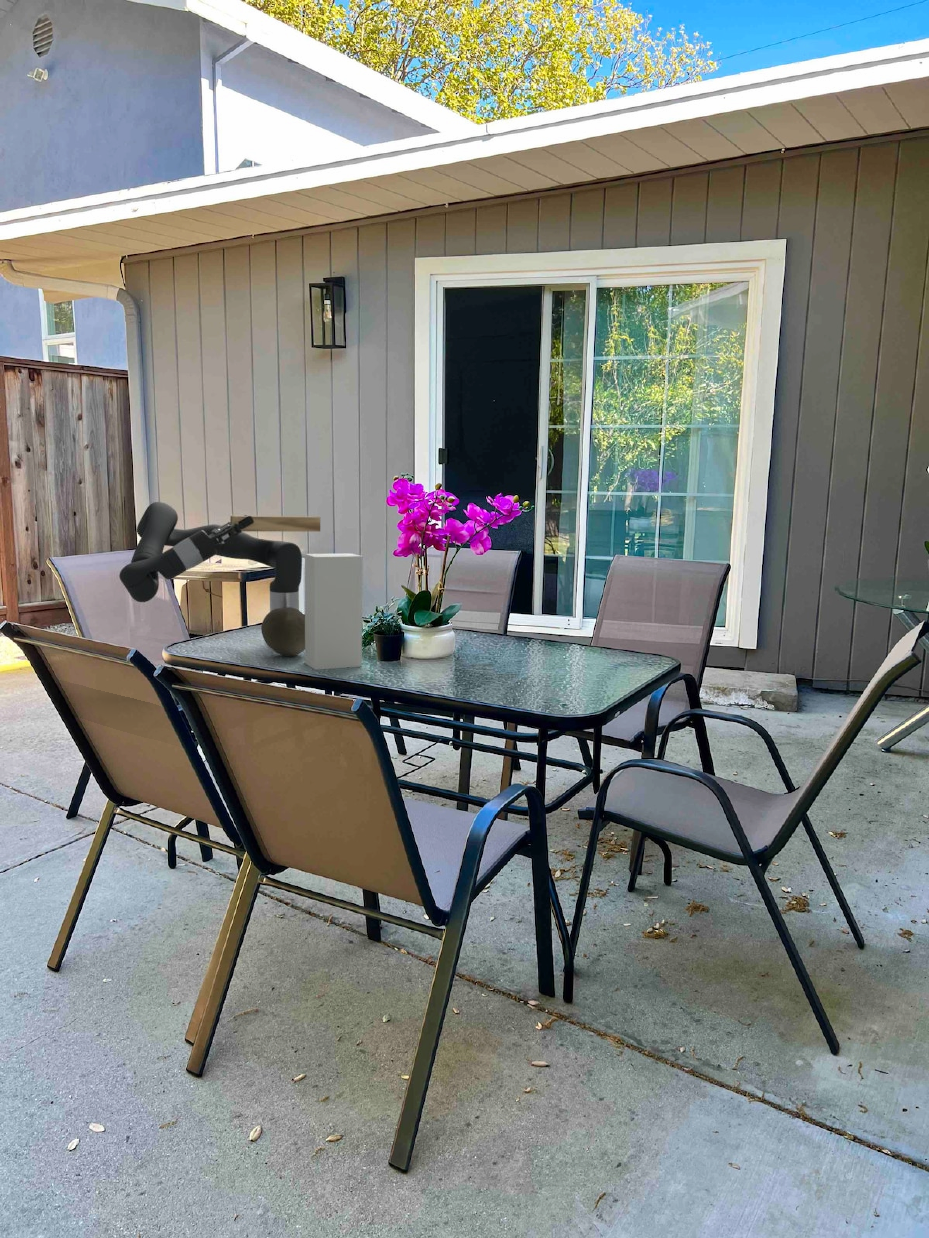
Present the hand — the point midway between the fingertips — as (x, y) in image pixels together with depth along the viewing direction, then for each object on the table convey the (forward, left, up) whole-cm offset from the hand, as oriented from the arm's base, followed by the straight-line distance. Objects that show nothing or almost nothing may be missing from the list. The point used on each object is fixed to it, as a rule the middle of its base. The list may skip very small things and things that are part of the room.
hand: (250, 518), depth 239 cm
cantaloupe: (-16, +14, -42) cm, 48 cm away
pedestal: (0, +24, -42) cm, 48 cm away
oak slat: (0, +7, -3) cm, 8 cm away
